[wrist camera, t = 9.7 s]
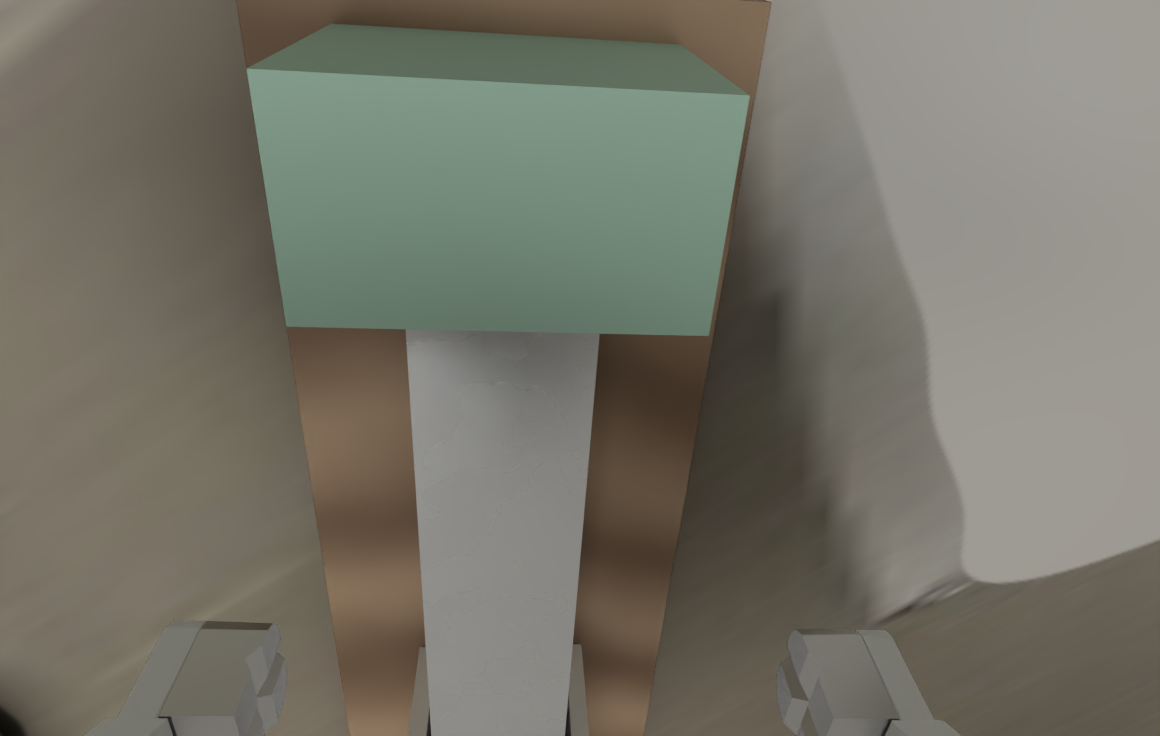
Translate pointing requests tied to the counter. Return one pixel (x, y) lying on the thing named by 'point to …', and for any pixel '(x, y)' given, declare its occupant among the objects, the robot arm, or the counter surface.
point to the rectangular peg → (500, 521)
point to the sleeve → (575, 709)
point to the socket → (496, 181)
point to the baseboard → (620, 412)
